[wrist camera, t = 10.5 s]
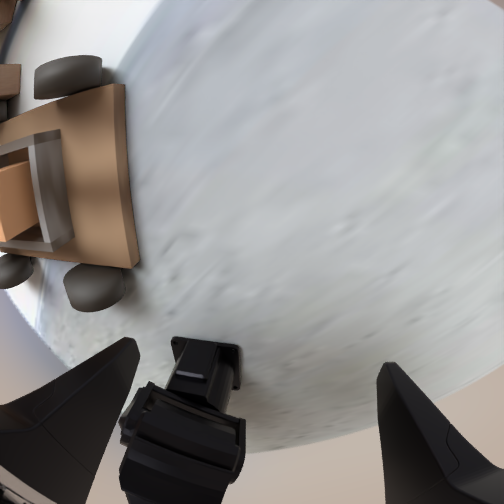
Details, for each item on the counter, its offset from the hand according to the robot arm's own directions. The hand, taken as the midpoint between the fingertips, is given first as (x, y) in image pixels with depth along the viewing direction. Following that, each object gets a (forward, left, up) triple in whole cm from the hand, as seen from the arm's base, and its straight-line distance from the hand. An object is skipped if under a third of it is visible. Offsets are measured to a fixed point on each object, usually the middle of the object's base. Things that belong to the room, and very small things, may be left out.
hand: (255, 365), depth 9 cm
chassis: (+4, +21, -12) cm, 25 cm away
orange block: (+4, +21, -10) cm, 24 cm away
